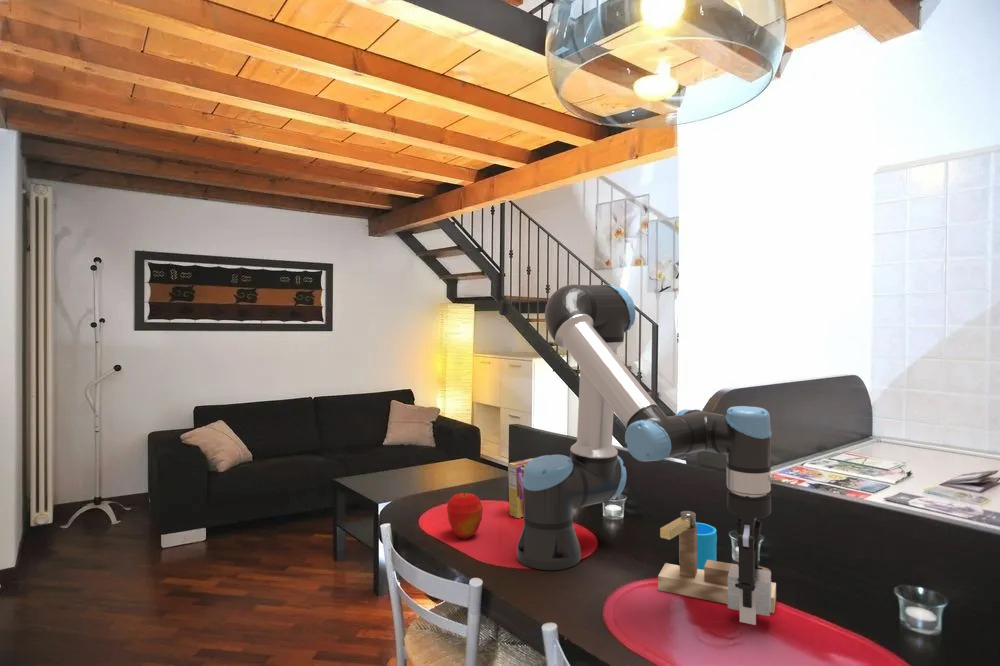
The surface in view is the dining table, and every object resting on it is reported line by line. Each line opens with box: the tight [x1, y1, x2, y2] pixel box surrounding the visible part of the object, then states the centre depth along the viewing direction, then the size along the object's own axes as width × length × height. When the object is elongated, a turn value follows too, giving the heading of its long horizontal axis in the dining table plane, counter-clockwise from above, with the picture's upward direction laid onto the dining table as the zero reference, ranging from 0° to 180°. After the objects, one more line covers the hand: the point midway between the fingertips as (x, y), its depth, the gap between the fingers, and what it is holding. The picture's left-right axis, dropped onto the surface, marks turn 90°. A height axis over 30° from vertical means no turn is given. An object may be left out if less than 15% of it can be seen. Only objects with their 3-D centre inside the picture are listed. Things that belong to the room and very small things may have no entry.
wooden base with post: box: [657, 525, 777, 614], centre depth 122 cm, size 22×7×13 cm, turn 62°
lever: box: [659, 510, 697, 541], centre depth 121 cm, size 12×3×2 cm, turn 137°
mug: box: [678, 522, 718, 570], centre depth 138 cm, size 12×8×8 cm
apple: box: [446, 490, 484, 540], centre depth 155 cm, size 9×9×12 cm
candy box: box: [507, 458, 533, 519], centre depth 171 cm, size 9×4×15 cm, turn 127°
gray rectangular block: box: [727, 564, 772, 617], centre depth 110 cm, size 7×6×6 cm
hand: (749, 614), depth 110 cm, fingers closed on gray rectangular block, 5 cm apart
